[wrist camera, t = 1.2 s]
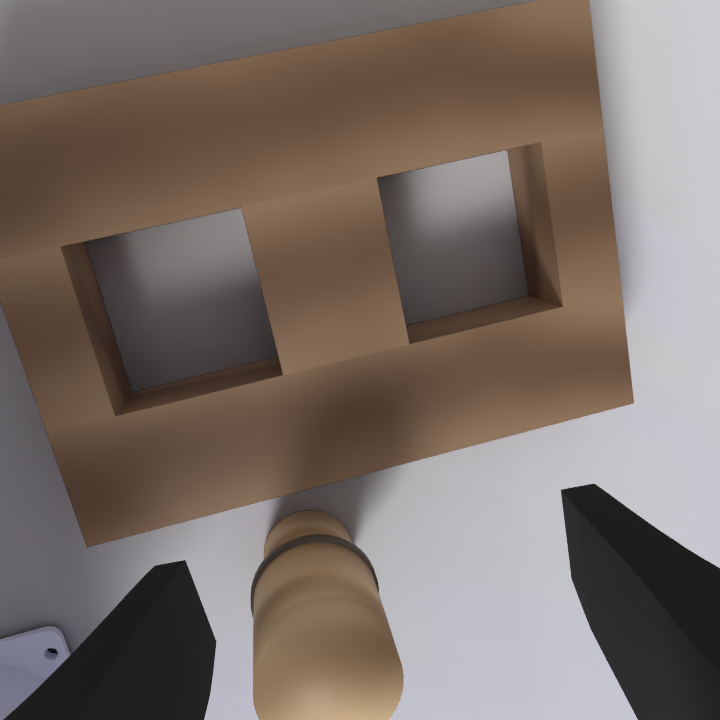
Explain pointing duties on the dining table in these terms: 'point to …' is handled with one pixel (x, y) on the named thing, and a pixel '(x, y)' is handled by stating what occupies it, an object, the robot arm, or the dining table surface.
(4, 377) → the dining table surface
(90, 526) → the board
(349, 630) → the peg
